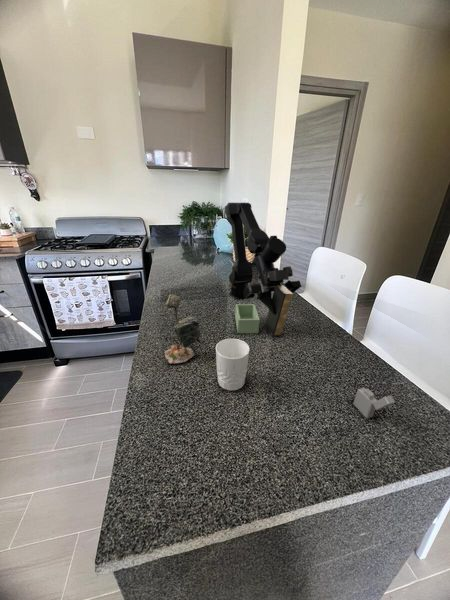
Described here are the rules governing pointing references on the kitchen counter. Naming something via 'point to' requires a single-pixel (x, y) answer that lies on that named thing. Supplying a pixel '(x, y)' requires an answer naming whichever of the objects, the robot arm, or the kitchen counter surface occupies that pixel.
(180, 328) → the plant with pod
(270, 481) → the kitchen counter surface
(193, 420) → the kitchen counter surface
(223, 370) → the white cup
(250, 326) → the holder
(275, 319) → the eraser
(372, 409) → the grey angled bracket
